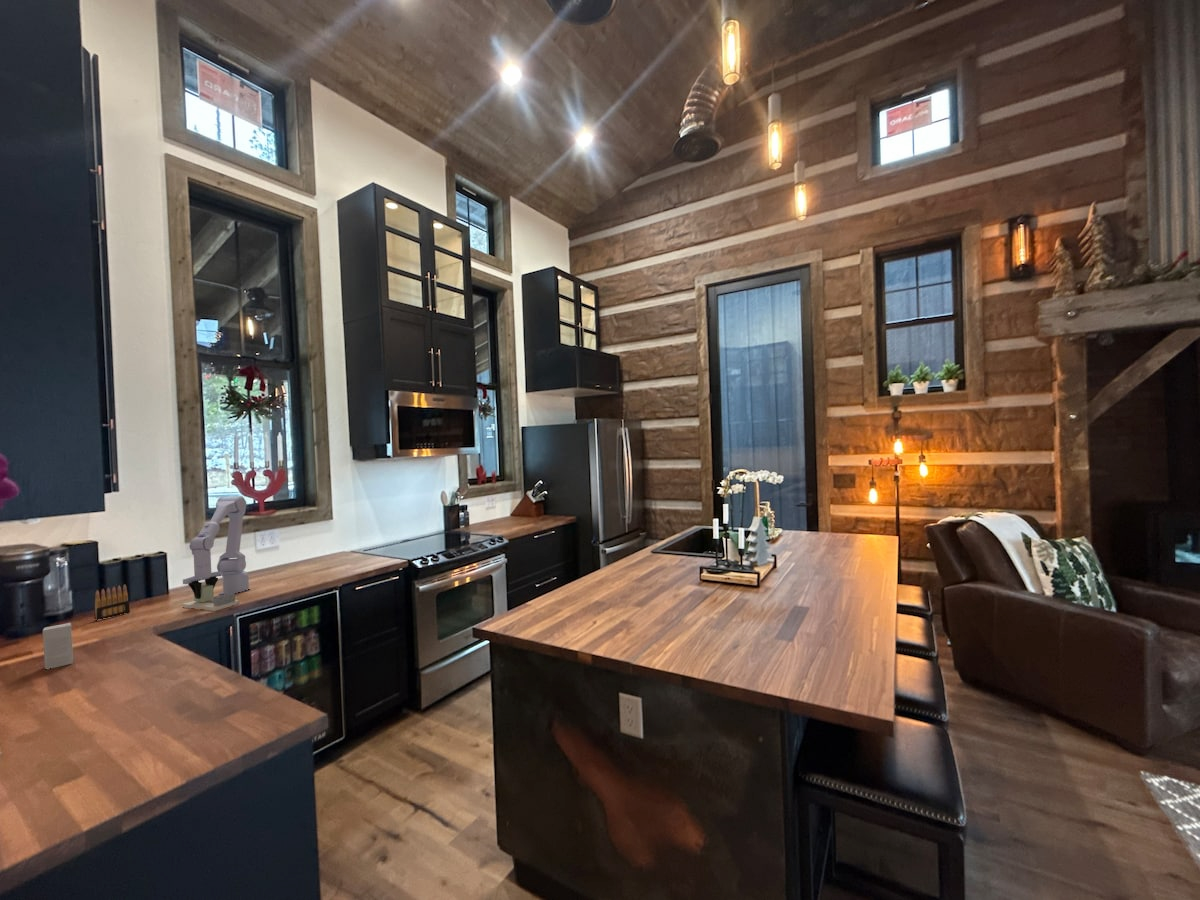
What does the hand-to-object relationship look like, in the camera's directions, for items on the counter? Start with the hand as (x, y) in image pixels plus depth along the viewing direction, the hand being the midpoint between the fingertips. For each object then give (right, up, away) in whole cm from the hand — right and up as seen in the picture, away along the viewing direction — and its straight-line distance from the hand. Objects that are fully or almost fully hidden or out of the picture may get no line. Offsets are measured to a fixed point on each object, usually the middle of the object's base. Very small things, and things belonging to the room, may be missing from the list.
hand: (204, 596), depth 219 cm
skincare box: (+2, -4, -61) cm, 61 cm away
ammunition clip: (-28, -5, -12) cm, 30 cm away
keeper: (0, -1, 0) cm, 1 cm away
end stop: (+12, -2, -5) cm, 13 cm away
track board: (+4, -3, -2) cm, 5 cm away
